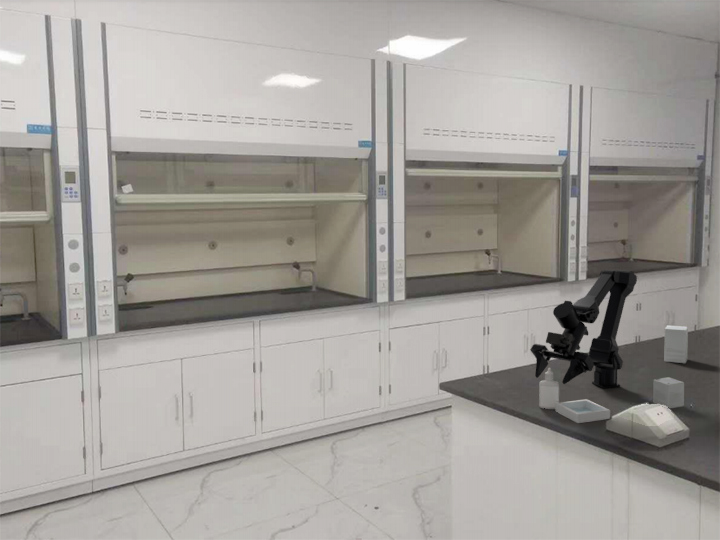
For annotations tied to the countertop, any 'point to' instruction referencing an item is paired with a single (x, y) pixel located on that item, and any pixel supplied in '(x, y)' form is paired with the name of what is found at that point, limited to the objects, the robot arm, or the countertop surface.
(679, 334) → the supplement box
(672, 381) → the skincare box
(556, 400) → the eye dropper bottle
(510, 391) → the countertop surface
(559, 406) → the square tray
